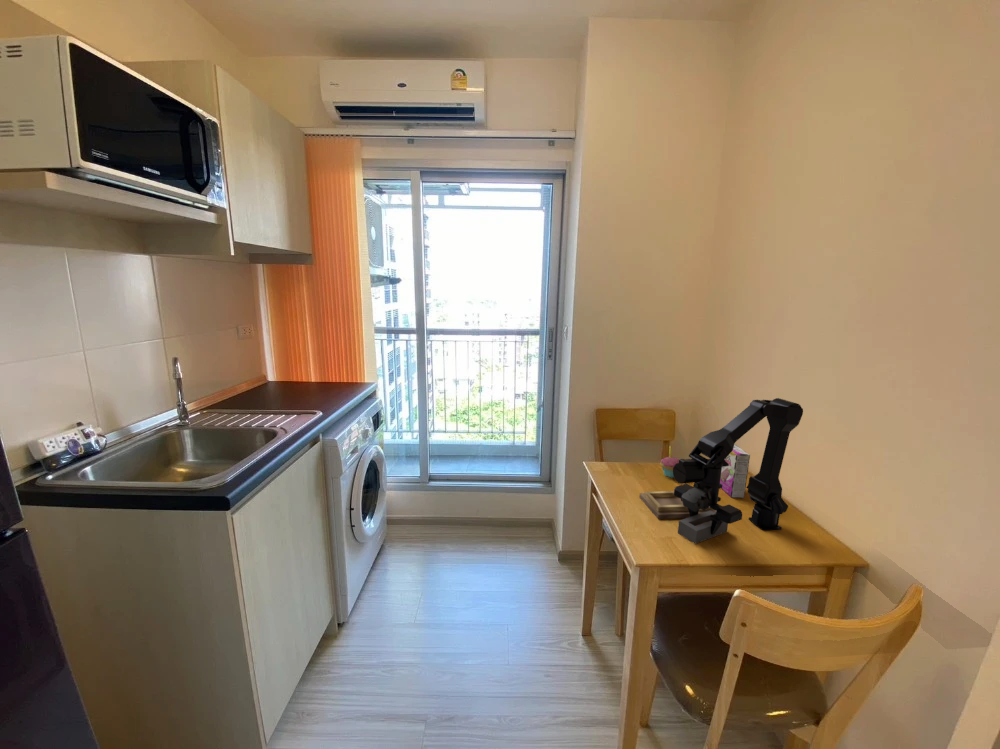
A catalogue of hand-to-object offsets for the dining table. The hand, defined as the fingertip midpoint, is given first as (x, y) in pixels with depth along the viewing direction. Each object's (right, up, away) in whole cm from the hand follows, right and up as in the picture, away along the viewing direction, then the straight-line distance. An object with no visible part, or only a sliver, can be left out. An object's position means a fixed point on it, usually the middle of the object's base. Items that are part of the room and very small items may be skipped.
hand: (702, 528), depth 123 cm
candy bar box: (+23, +3, +27) cm, 35 cm away
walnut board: (-1, +2, +15) cm, 15 cm away
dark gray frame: (0, -1, 0) cm, 1 cm away
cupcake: (+7, +6, +39) cm, 40 cm away
